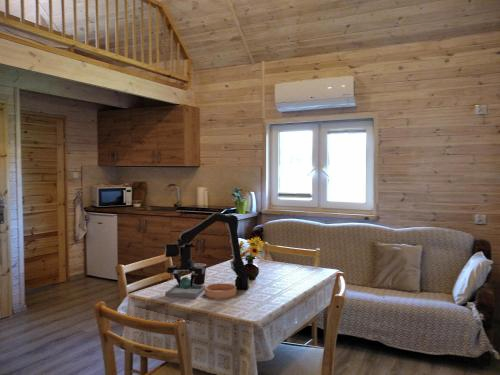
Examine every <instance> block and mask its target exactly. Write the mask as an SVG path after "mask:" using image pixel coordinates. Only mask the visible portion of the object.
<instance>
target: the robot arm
mask: <svg viewBox="0 0 500 375" xmlns="http://www.w3.org/2000/svg"><path fill="white" fill-rule="evenodd" d="M216 222H219V223H225V226H226V229H227V230H228V233H229V234H228V235H229V239H230V246H231V253H232V260H231V261H230V260H229V262H230V269H231V270H232V272H234V273H235V276H236V278H235V279H234V285H235V286H236V287H237V291H238V290H239V291H248V290H249V289H250V282H249V281H250V280H249V279H250V276H251V275H250V273H249V272H248V271H247V270H246V266H245V264H244V261H243V258H242V255H241V249H240V242H239V241H240V240H239V235H238V228H239V218H238V217H237V215H234V214H232V213H228V214H222V213H218V212H213V213H212V214H211V215H210V216H207V217H206V218H205V219H203V220H202V221H201V222H199V223H198V224H197V223H196V225H194V226H192V227H190V228H188V229H185V230H182V231H181V232H180V234H179V238H178V239H177V240H176V242H175V243H165V248H164V256H165V258H177V257H178V255H179V260H178V261H179V267H178V265H173V264H172V265H169V266H168V267H167V268H166V273H167V274H171V276H173V277H174V278H175V281H177V284H179V286H180V280H181V279H182V278H181V273H182V272H183V273H185V272H186V273H187V272H188V273H189V272H190V279H191V287H192V286H193V285H194V284H193V283H194V280H195V277H196V276H197V275H198V274H203V273H204V272H205V268H204V267H199V266H197V267H196V268H191V267H194V264H196V263H195V262H196V261H195V260H193V257H192V248H196V245H195V244H193V242H192V241H193V240H194V239H195V238H197V236H198V235H199V234H200V233H202V232H203V231H204V230H206V229H207V228H209V227H210V226H212V225H213V224H215V223H216Z"/></svg>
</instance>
